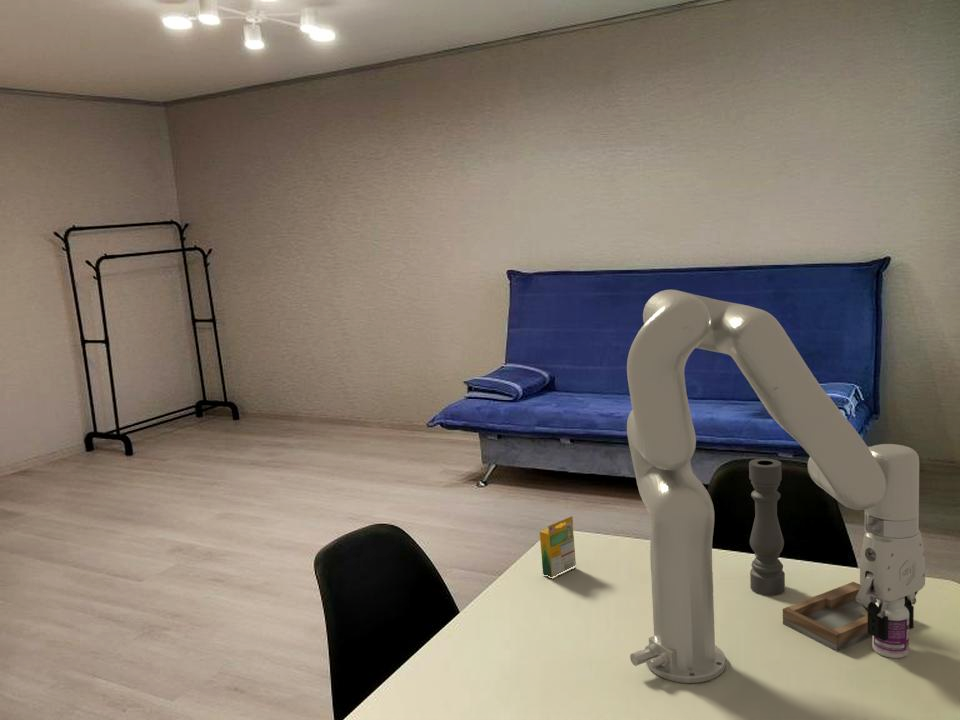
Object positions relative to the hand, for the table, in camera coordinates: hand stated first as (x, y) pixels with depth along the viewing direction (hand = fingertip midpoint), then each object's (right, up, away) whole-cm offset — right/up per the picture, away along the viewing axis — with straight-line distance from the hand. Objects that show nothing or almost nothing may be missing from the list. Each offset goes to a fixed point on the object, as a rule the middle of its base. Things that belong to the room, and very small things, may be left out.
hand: (890, 630), depth 126 cm
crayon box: (-49, -1, +39) cm, 63 cm away
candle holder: (-11, -1, +24) cm, 27 cm away
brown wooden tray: (-2, -2, +10) cm, 11 cm away
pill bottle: (0, -4, +1) cm, 4 cm away
